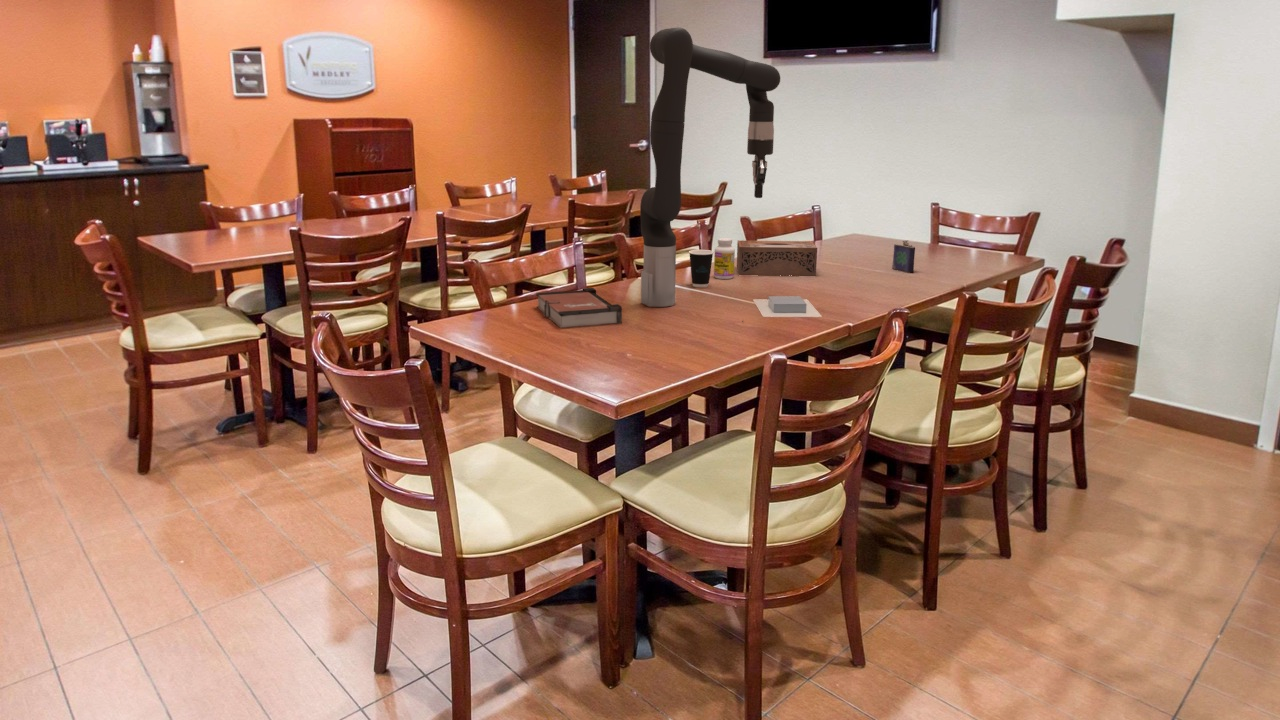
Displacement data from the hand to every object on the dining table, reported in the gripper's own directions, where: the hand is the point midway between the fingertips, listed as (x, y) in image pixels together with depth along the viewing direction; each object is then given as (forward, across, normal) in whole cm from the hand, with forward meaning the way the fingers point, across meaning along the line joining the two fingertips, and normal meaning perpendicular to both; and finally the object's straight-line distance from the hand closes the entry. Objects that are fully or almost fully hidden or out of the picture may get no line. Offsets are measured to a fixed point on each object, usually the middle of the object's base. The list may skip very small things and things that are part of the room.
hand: (758, 197), depth 265 cm
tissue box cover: (+30, -35, +12) cm, 47 cm away
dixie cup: (+29, -11, -16) cm, 35 cm away
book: (+30, +29, -53) cm, 67 cm away
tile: (+27, +19, +6) cm, 33 cm away
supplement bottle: (+29, -25, -7) cm, 39 cm away
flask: (+29, -38, +56) cm, 74 cm away
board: (+29, +22, +6) cm, 37 cm away
